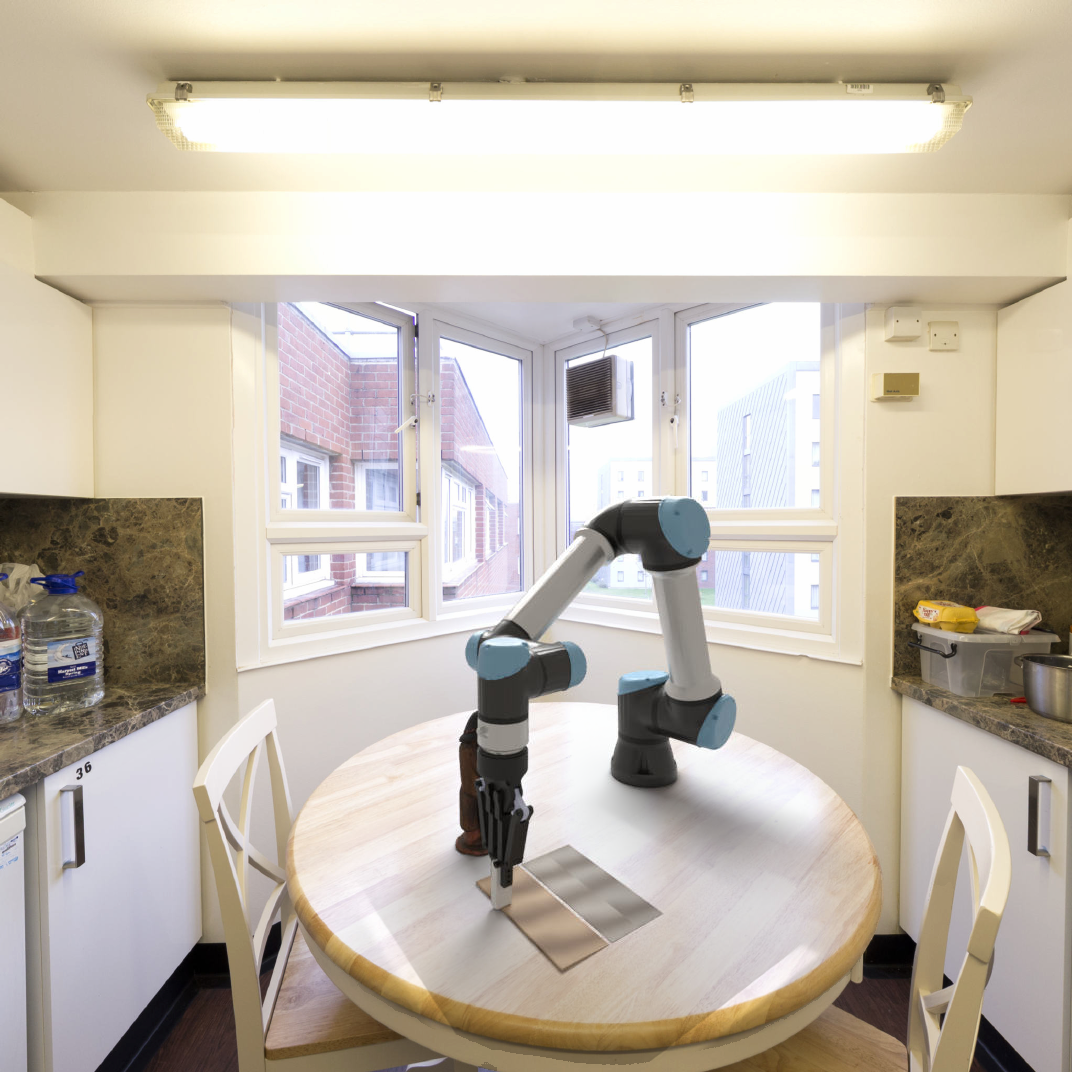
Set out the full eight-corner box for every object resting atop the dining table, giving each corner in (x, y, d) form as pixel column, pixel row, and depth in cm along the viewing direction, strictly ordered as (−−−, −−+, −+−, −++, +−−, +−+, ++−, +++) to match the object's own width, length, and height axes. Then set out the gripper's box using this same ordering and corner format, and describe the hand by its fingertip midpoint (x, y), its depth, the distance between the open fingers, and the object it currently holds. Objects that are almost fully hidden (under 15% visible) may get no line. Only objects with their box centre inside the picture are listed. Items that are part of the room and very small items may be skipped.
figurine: (481, 871, 97) (480, 723, 97) (445, 857, 101) (443, 715, 101) (515, 841, 106) (514, 706, 105) (479, 830, 110) (478, 699, 109)
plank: (475, 890, 92) (475, 881, 92) (518, 874, 96) (518, 865, 96) (561, 980, 74) (561, 969, 74) (608, 955, 78) (608, 944, 78)
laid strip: (521, 872, 97) (521, 864, 97) (568, 852, 102) (568, 844, 102) (612, 953, 79) (612, 942, 79) (663, 923, 85) (663, 913, 84)
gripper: (459, 737, 89) (458, 889, 89) (504, 766, 78) (503, 939, 79) (501, 727, 93) (499, 873, 94) (549, 754, 83) (548, 918, 83)
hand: (501, 903), depth 86 cm, fingers closed
